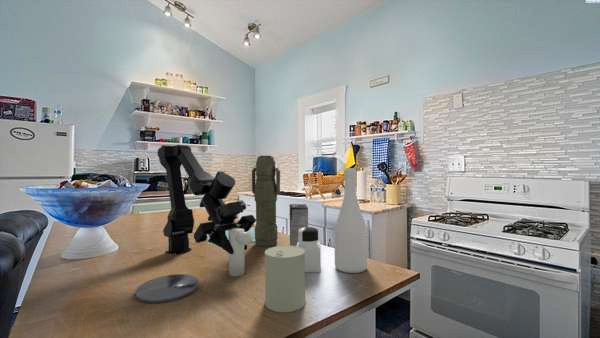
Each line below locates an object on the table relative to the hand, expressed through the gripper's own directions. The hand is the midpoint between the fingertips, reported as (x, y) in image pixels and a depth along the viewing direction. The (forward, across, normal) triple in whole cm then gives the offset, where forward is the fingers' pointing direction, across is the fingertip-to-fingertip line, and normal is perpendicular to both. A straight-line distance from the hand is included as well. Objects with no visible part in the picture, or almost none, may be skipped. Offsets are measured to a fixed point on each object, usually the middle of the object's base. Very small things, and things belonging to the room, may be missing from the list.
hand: (239, 251), depth 79 cm
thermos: (-7, +26, +17) cm, 32 cm away
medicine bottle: (+13, +16, -4) cm, 21 cm away
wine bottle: (+20, +24, -11) cm, 33 cm away
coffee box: (+2, +30, +7) cm, 31 cm away
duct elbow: (+5, 0, +5) cm, 7 cm away
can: (+20, -4, -10) cm, 22 cm away
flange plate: (0, -17, +9) cm, 20 cm away
